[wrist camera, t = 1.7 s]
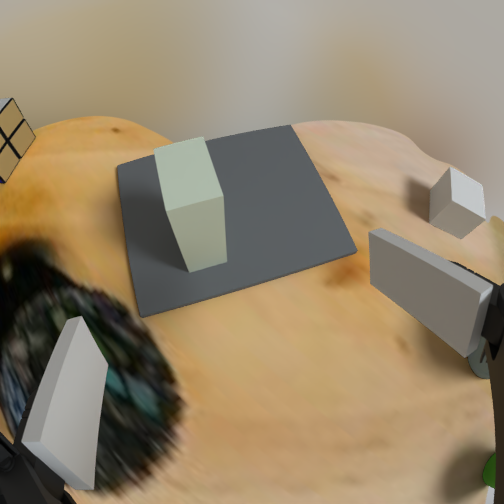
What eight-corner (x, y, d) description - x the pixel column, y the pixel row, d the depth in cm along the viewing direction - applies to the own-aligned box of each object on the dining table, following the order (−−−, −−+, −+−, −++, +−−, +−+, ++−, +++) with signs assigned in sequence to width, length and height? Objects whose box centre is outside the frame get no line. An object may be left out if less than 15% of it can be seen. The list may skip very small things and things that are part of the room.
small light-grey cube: (460, 239, 36) (485, 219, 30) (428, 223, 36) (451, 200, 31) (460, 206, 38) (482, 185, 32) (429, 190, 38) (450, 166, 33)
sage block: (189, 272, 31) (165, 211, 20) (176, 223, 33) (153, 149, 22) (227, 261, 31) (223, 195, 20) (211, 213, 34) (203, 136, 23)
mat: (142, 317, 29) (140, 316, 29) (118, 169, 37) (117, 165, 36) (355, 253, 34) (357, 250, 33) (289, 128, 41) (290, 124, 40)
